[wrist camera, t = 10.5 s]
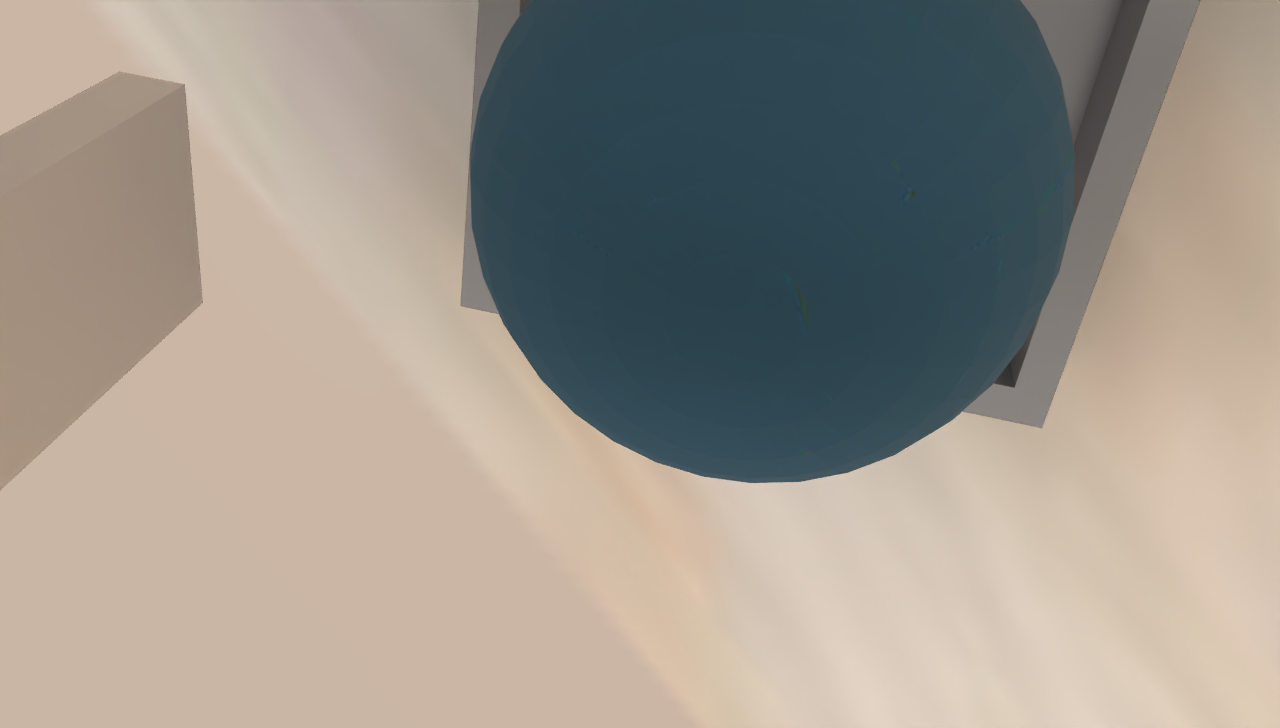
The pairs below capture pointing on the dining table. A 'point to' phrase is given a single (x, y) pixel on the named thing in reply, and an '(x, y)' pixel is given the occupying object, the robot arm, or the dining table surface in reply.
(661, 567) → the dining table surface
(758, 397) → the light bulb
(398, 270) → the dining table surface
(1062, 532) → the dining table surface
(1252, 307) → the dining table surface
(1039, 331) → the parts tray
